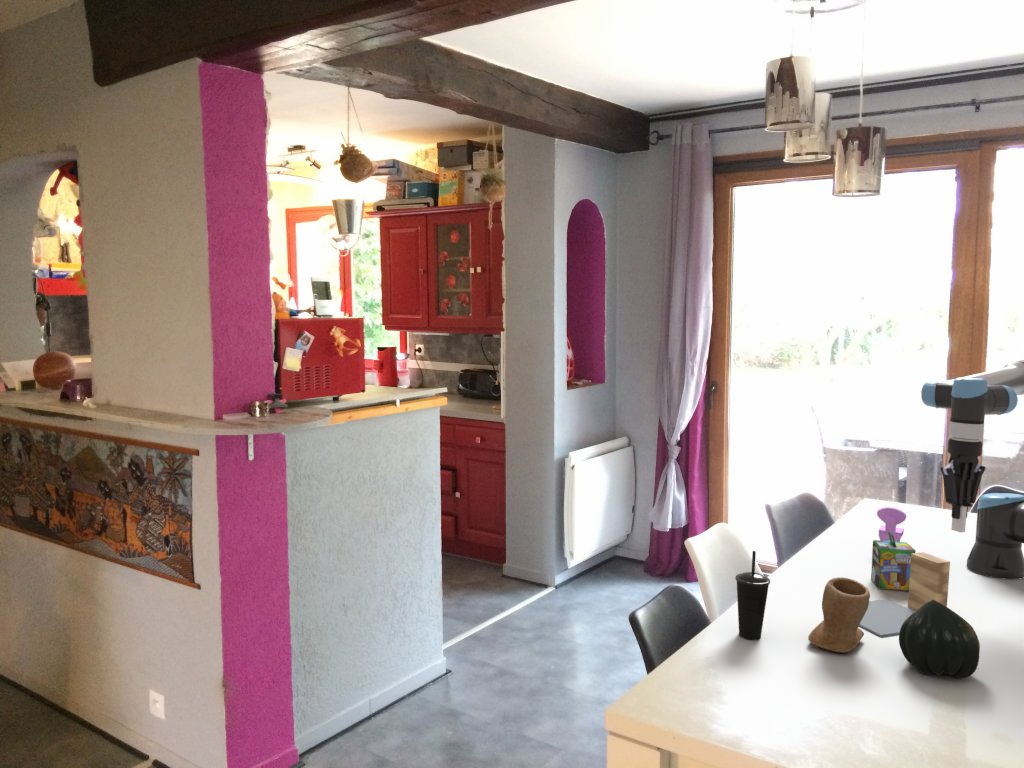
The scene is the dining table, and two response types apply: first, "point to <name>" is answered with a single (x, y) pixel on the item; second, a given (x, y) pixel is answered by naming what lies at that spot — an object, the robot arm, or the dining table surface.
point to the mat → (885, 617)
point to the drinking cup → (751, 602)
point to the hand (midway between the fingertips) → (958, 530)
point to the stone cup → (841, 615)
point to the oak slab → (928, 580)
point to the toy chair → (891, 523)
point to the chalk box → (891, 564)
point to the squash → (939, 641)
